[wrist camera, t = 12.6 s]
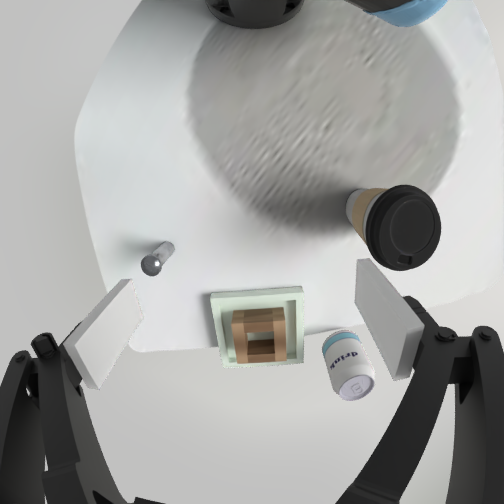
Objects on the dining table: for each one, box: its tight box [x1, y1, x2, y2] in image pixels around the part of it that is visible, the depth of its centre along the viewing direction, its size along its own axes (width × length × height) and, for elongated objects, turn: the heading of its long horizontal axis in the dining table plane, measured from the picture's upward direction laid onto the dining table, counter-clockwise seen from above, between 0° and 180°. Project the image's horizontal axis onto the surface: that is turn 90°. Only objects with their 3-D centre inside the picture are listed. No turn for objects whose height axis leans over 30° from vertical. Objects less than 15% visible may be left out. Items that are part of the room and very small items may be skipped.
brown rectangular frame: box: [231, 307, 287, 364], centre depth 44 cm, size 10×8×4 cm
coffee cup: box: [346, 185, 441, 271], centre depth 32 cm, size 9×9×15 cm
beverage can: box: [322, 330, 375, 401], centre depth 41 cm, size 7×7×12 cm
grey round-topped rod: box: [141, 241, 175, 276], centre depth 38 cm, size 3×3×8 cm
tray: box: [210, 286, 304, 368], centre depth 45 cm, size 14×14×2 cm
